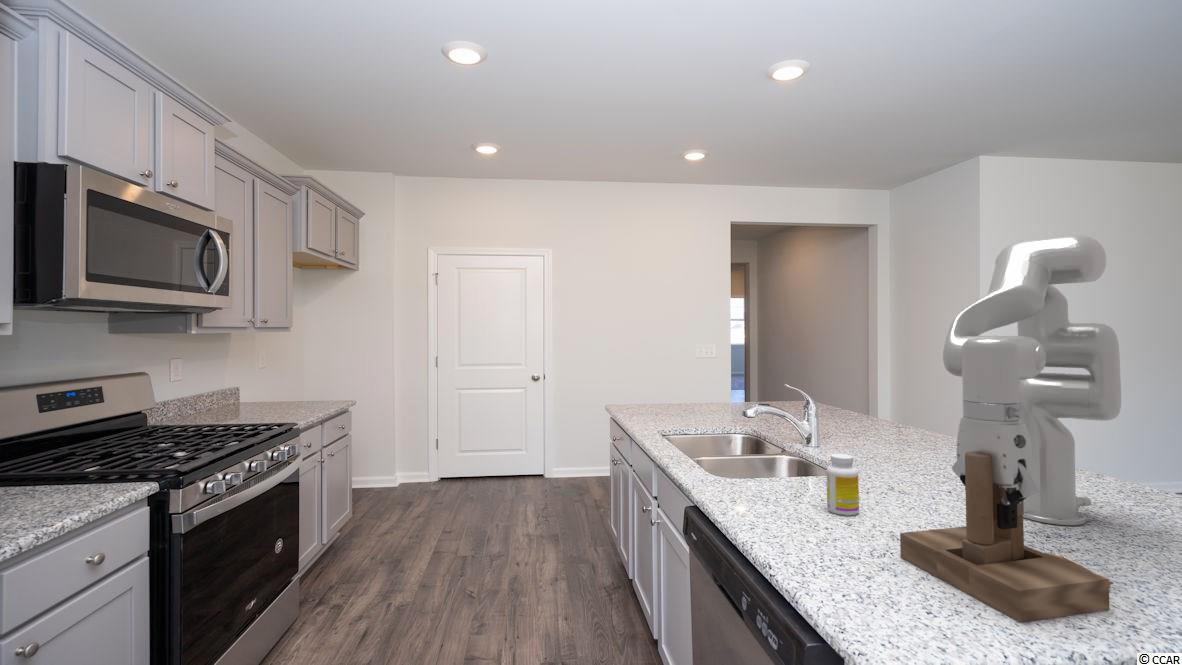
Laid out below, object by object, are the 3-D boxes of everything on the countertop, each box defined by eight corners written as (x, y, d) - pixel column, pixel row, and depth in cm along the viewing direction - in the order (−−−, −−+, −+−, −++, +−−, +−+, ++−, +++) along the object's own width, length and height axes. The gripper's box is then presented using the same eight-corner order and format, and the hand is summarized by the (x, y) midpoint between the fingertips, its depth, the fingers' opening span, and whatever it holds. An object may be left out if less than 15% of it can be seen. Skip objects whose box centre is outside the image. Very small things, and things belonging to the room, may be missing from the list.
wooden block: (1025, 558, 87) (1023, 450, 87) (985, 570, 82) (983, 457, 82) (1000, 550, 90) (998, 446, 90) (961, 561, 86) (959, 452, 86)
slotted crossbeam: (974, 549, 99) (973, 525, 99) (1109, 609, 77) (1109, 578, 77) (900, 557, 96) (900, 533, 96) (1020, 622, 74) (1019, 590, 74)
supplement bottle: (866, 514, 118) (865, 457, 118) (843, 518, 116) (842, 460, 116) (842, 505, 125) (841, 451, 125) (820, 508, 122) (819, 454, 122)
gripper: (1063, 419, 79) (1066, 540, 79) (964, 404, 95) (966, 504, 95) (1022, 421, 77) (1025, 544, 77) (929, 406, 94) (931, 507, 94)
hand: (992, 521), depth 86 cm, fingers closed on wooden block, 4 cm apart
